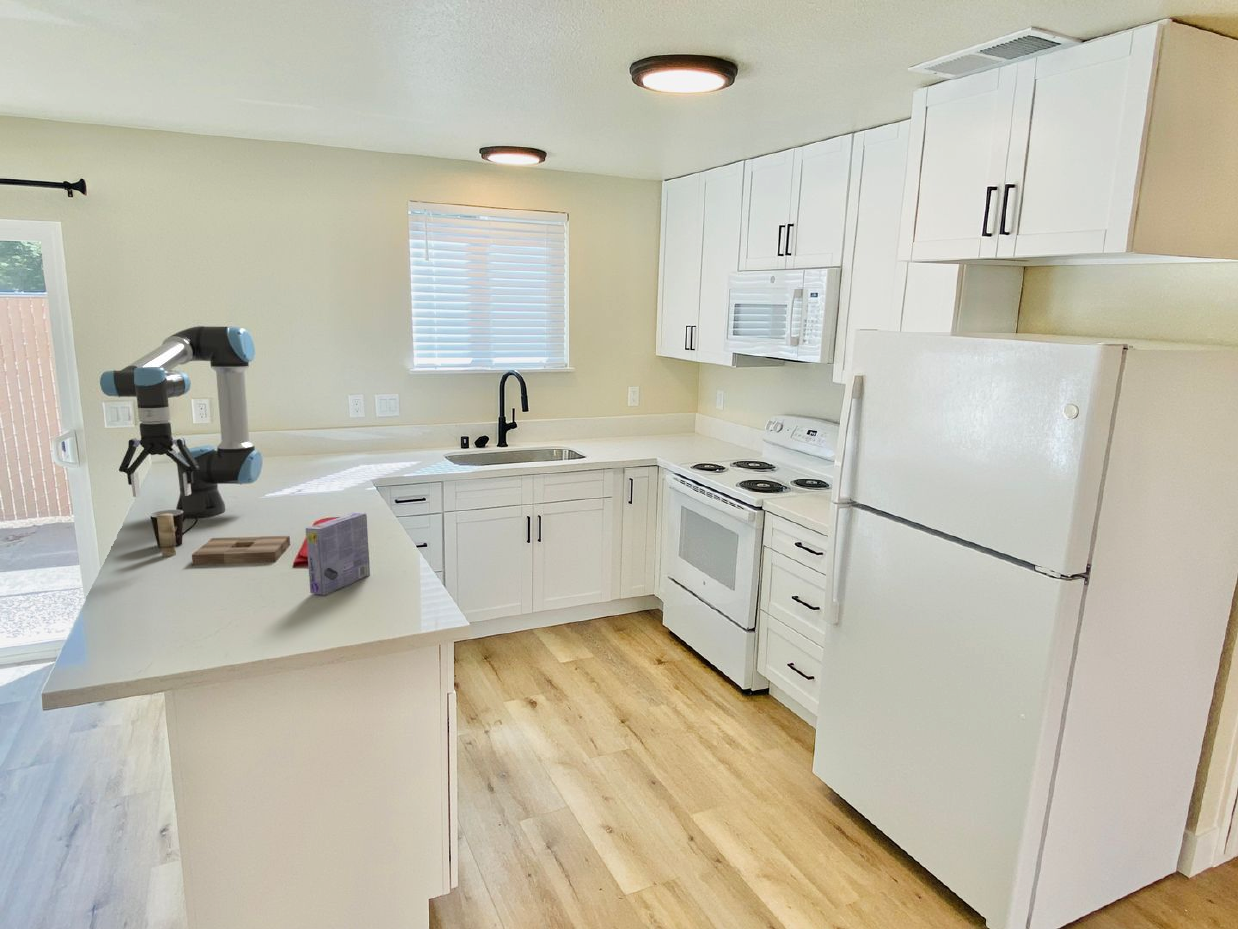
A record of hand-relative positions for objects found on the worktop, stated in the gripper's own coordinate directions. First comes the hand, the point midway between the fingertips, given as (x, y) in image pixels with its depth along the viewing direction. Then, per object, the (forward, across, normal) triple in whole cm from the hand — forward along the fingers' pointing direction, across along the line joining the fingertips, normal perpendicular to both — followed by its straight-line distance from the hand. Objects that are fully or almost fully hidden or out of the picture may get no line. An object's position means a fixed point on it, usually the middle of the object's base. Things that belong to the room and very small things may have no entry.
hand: (162, 495), depth 215 cm
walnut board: (+18, +21, -2) cm, 28 cm away
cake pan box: (+18, +54, -30) cm, 64 cm away
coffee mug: (+18, -2, +10) cm, 21 cm away
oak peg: (+18, 0, 0) cm, 18 cm away
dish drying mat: (+19, +44, +6) cm, 48 cm away
